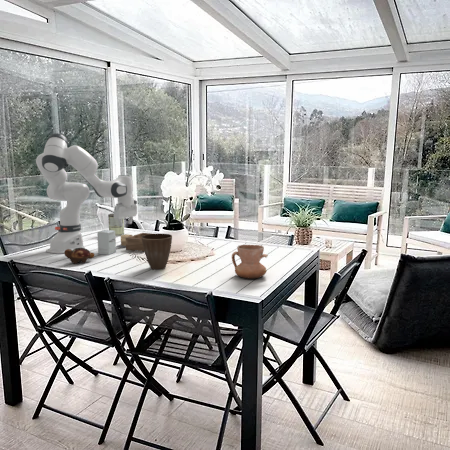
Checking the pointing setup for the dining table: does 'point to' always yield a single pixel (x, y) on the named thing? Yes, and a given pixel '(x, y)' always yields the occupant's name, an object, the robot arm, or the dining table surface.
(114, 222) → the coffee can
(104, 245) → the supplement box
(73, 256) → the decorative turtle
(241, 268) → the ceramic jug
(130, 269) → the dining table surface
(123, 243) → the oak block
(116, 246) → the rubber coaster
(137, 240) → the walnut caddy
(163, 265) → the plant pot
